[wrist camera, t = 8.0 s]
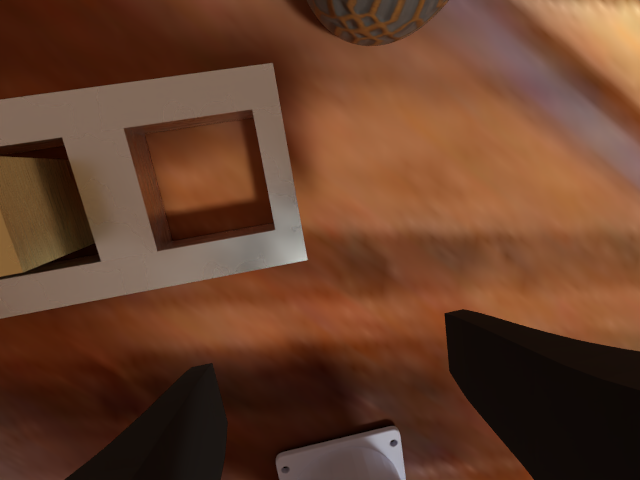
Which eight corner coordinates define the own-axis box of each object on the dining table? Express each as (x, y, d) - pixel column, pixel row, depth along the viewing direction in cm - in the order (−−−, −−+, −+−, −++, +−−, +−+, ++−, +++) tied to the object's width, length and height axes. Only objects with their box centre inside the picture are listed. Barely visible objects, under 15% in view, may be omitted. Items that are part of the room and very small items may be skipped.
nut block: (106, 238, 18) (23, 272, 12) (24, 252, 17) (-103, 294, 11) (82, 160, 17) (-21, 155, 11) (-5, 173, 16) (-158, 175, 11)
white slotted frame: (303, 249, 19) (307, 259, 17) (-175, 338, 17) (-247, 365, 15) (272, 77, 17) (272, 62, 15) (-273, 153, 15) (-374, 150, 13)
